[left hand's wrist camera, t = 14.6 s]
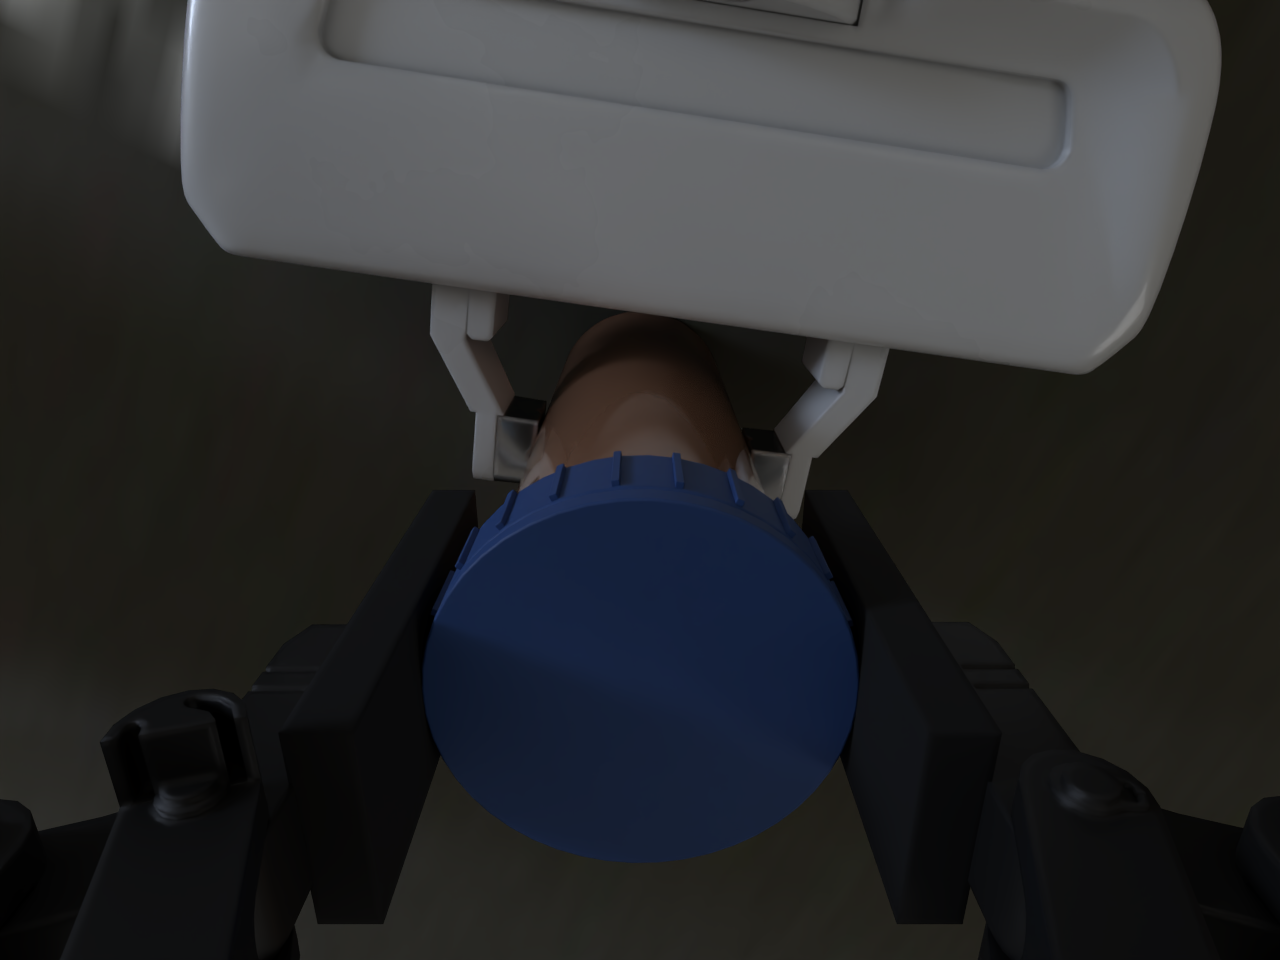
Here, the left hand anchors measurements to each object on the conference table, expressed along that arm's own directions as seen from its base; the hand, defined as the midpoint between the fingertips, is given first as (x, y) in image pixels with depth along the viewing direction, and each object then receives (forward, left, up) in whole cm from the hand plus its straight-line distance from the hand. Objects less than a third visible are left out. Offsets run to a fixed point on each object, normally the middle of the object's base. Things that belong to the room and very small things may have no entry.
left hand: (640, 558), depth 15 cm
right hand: (-1, -1, -5) cm, 5 cm away
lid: (0, 0, +4) cm, 4 cm away
